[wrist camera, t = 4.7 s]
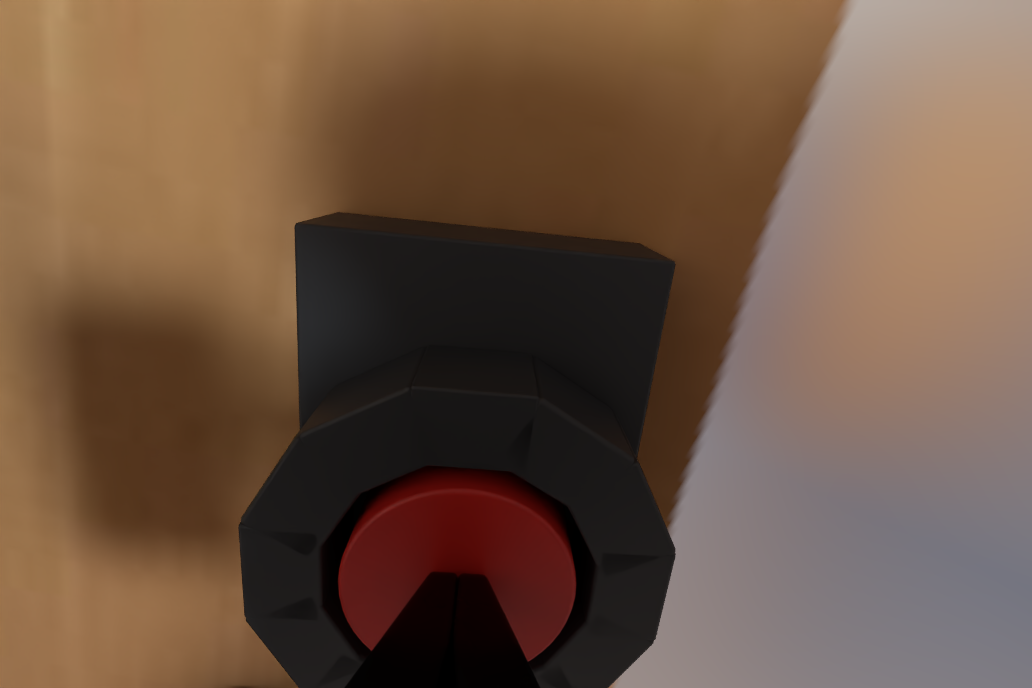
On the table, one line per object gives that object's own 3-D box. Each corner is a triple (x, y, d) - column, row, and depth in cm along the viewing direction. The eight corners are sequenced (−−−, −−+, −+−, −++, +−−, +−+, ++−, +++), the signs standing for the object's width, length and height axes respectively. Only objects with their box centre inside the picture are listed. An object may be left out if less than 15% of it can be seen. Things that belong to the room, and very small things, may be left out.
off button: (550, 604, 10) (560, 688, 9) (363, 593, 10) (336, 678, 8) (576, 439, 9) (594, 499, 7) (366, 423, 9) (336, 481, 7)
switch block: (582, 634, 14) (614, 814, 10) (326, 619, 13) (255, 801, 9) (654, 244, 10) (742, 286, 7) (322, 210, 10) (215, 234, 6)
